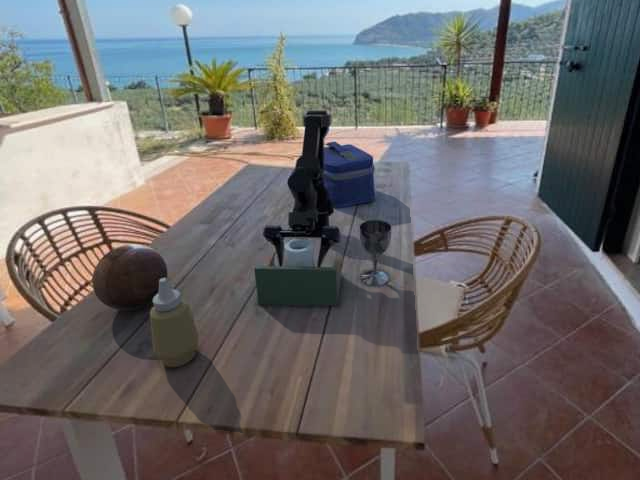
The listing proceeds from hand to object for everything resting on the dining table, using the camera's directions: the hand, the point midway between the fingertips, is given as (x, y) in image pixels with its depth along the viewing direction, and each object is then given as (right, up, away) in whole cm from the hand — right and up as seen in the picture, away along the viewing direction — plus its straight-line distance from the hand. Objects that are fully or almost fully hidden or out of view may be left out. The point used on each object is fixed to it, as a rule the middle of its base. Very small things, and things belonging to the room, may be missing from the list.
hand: (299, 267), depth 94 cm
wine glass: (+19, -4, +9) cm, 21 cm away
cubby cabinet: (0, -6, +4) cm, 7 cm away
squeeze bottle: (-21, -14, -17) cm, 31 cm away
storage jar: (0, -6, +4) cm, 7 cm away
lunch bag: (+7, +18, +66) cm, 68 cm away
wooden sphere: (-38, -8, -1) cm, 39 cm away
